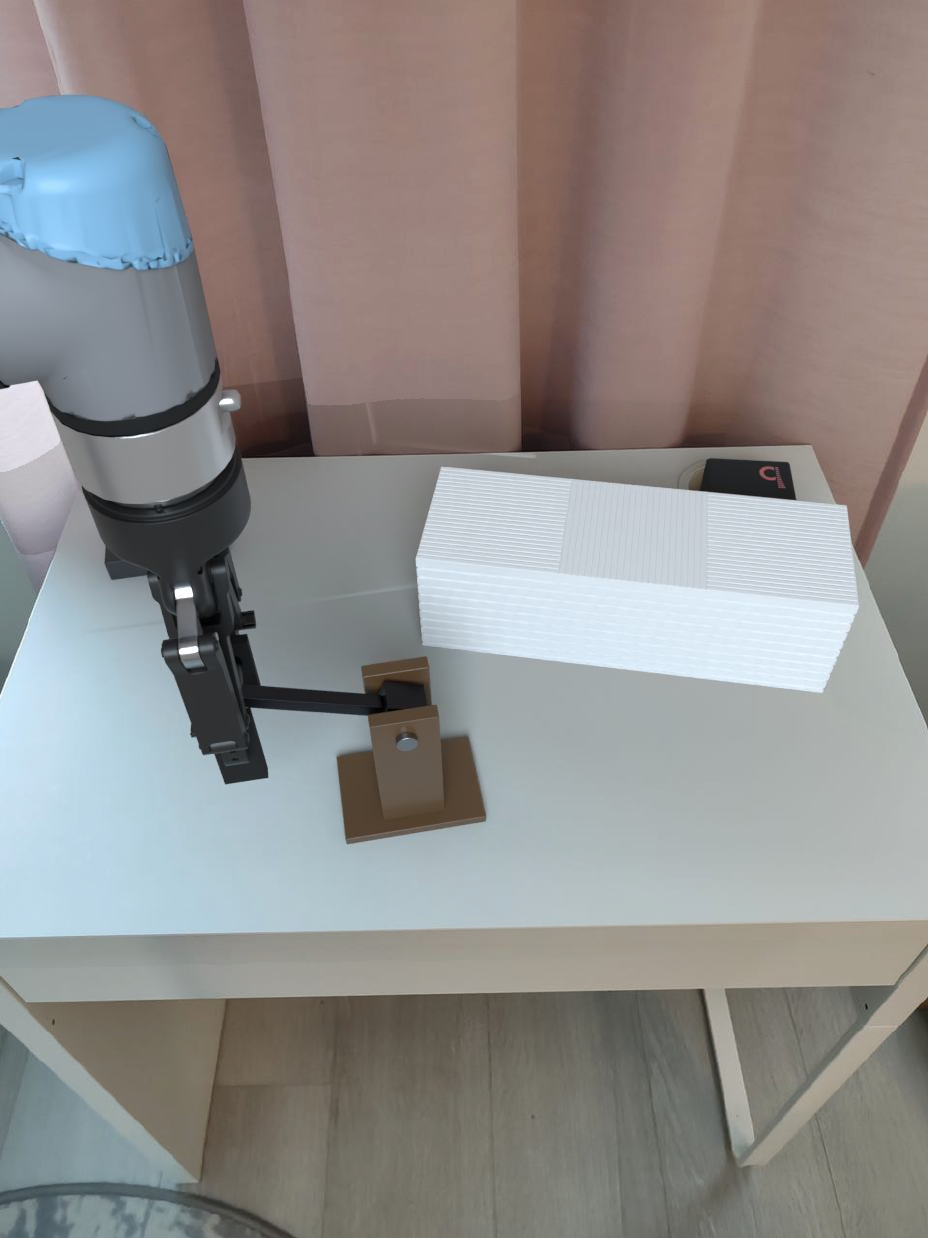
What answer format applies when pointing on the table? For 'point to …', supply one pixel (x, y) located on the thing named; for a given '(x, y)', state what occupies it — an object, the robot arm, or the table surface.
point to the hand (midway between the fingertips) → (245, 738)
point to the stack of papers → (637, 577)
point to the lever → (333, 698)
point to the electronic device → (748, 478)
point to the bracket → (407, 767)
